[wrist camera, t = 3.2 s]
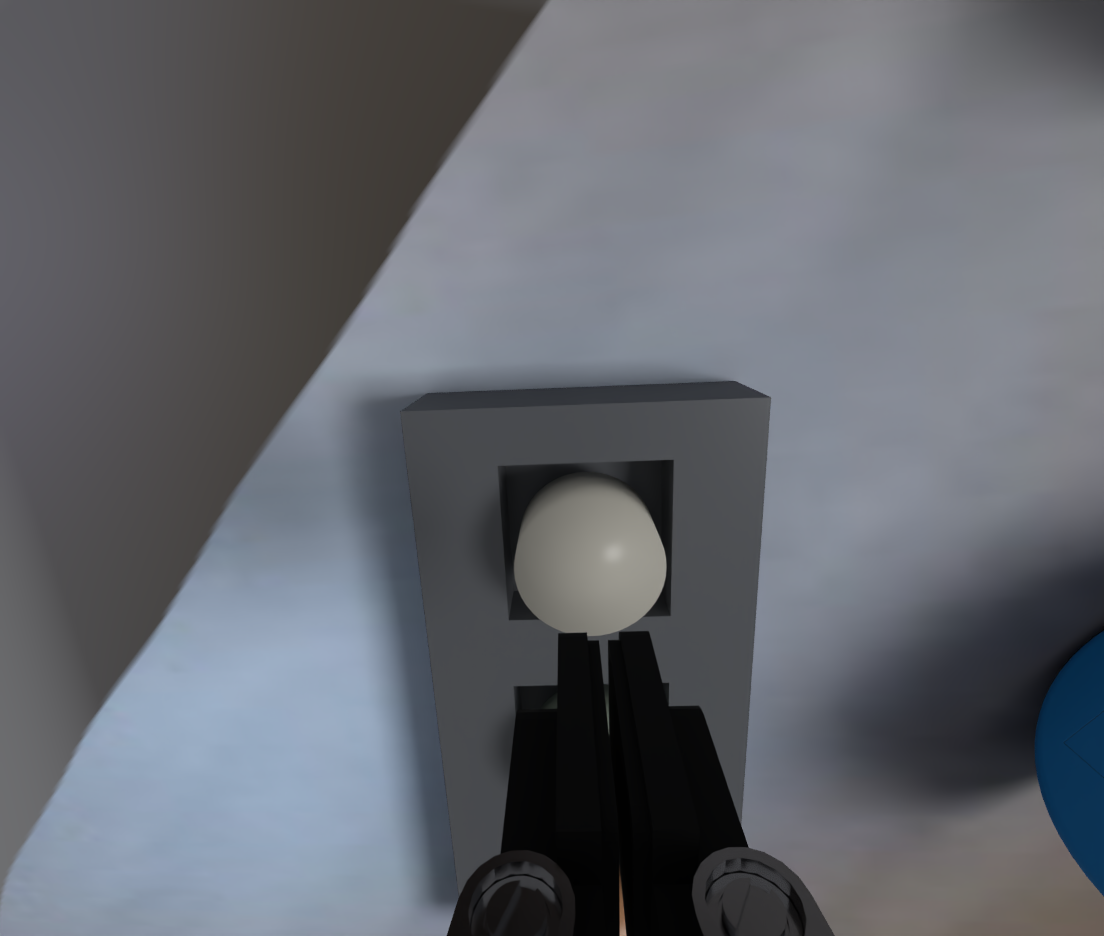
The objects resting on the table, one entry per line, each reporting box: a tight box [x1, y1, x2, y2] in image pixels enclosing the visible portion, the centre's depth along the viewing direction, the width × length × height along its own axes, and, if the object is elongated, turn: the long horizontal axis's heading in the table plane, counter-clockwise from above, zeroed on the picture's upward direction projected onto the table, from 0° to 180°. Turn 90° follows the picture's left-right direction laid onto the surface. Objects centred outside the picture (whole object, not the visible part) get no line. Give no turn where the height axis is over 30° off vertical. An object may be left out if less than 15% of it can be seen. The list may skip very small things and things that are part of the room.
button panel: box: [400, 381, 771, 896], centre depth 22 cm, size 25×11×4 cm, turn 2°
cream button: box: [514, 472, 667, 636], centre depth 17 cm, size 4×4×2 cm
